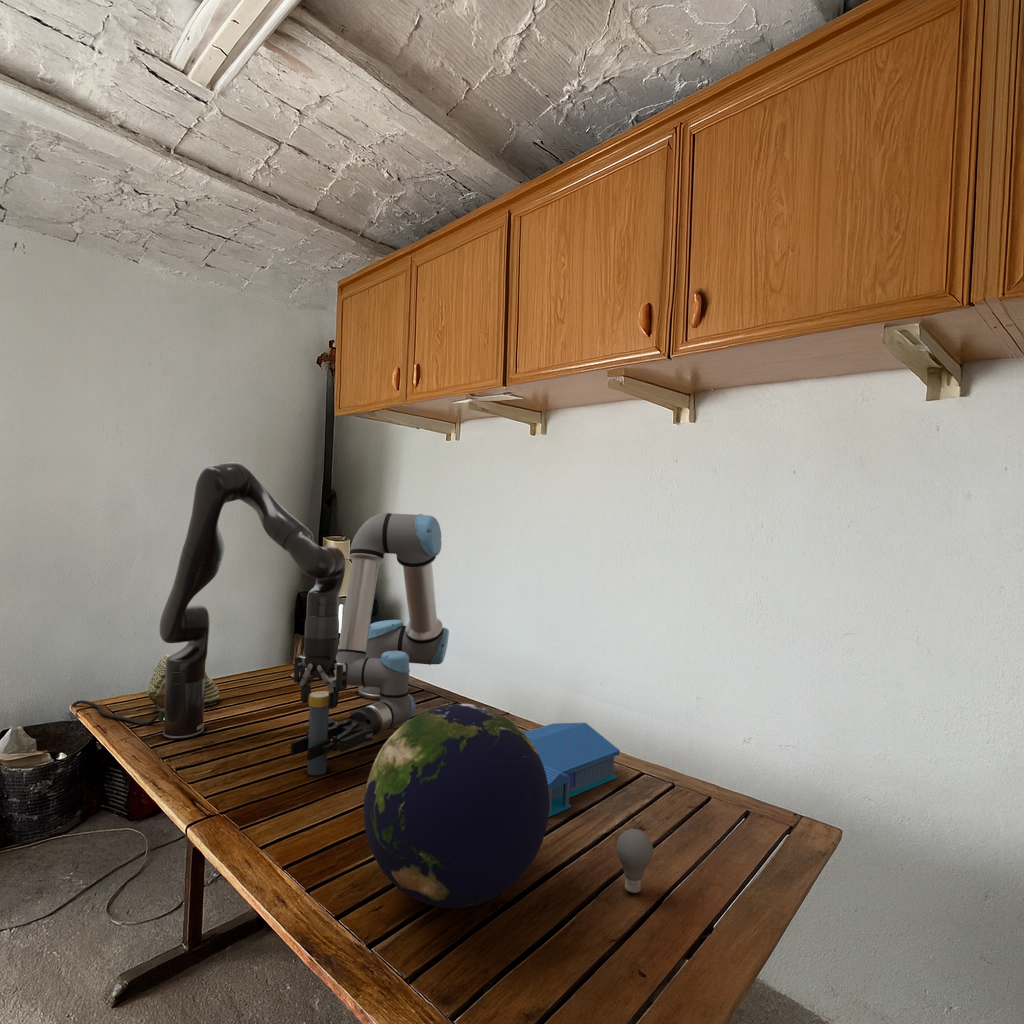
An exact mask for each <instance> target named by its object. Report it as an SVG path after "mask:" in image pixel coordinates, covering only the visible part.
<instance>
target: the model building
mask: <svg viewBox="0 0 1024 1024" xmlns="http://www.w3.org/2000/svg"><path fill="white" fill-rule="evenodd" d="M523 733H524V734H525V735H526V736H527V737H528V738H529V739H530V741H531V742H532V744H533V745H534V747H535V749H536V750H537V752H538V754H539V756H540V759H541V761H542V764H543V766H544V770H545V773H546V777H547V782H548V788H549V817H552V816H555V815H557V814H559V813H562V812H563V811H566V810H569V809H571V808H572V805H571V804H570V798H572V797H575V796H577V795H580V794H582V793H585V792H587V791H589V790H591V789H594V788H597V787H599V786H601V785H603V784H605V783H609V782H610V781H613V780H615V779H617V778H618V776H617V775H616V774H614V771H615V770H614V768H615V767H614V765H615V757H617V756H620V754H621V750H620V749H619V748H618V747H617V746H616V745H614V744H613V743H612V742H611V741H610V740H607V738H605V737H604V736H603V735H601V734H600V733H599V732H598V731H597V730H596V729H594V728H593V727H592V726H591V725H589V724H588V723H587V722H560V723H559V722H558V723H555V722H554V723H550V724H546V725H544V726H543V725H542V726H540V727H537V728H533V729H530V730H526V731H523ZM549 817H548V818H549Z"/></svg>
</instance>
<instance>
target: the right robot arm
mask: <svg viewBox="0 0 1024 1024" xmlns="http://www.w3.org/2000/svg"><path fill="white" fill-rule="evenodd" d="M441 551H442V530H441V525H440V523H439V521H438V519H437V518H436V517H434V516H433V515H429V514H428V515H427V514H423V513H418V514H413V513H411V514H409V513H391V512H382V513H378V514H375V515H373V516H371V517H370V518H369V519H367V520H366V521H364V523H363V524H362V525H361V526H360V527H359V529H358V530H357V532H356V534H355V535H354V537H353V539H352V542H351V545H350V549H349V555H348V557H349V559H350V560H351V565H350V572H349V579H348V586H347V590H346V591H347V592H346V598H345V604H344V611H343V616H342V622H341V628H340V629H341V630H340V634H339V642H338V653H337V655H336V660H337V663H341V664H343V663H347V664H348V675H347V686H355V687H357V686H358V689H357V694H358V695H359V696H360V697H361V698H365V699H369V700H376V702H374V703H371V704H369V705H367V706H364V707H361V708H359V709H357V710H355V711H353V712H352V713H351V714H350V716H349V718H348V719H344V720H341V721H339V722H338V721H336V719H335V718H330V719H329V721H328V739H326V740H324V741H322V742H320V743H317V744H315V745H313V746H310V747H308V735H309V729H307V730H306V736H303V737H301V738H299V739H297V740H295V741H292V742H290V756H296V755H298V754H300V753H302V752H304V751H306V750H307V751H306V761H308V760H309V761H310V760H312V759H314V758H316V757H319V756H321V755H323V754H325V753H327V754H328V753H330V752H337V751H338V750H339V752H341V753H343V752H346V751H348V750H350V749H353V748H355V747H357V746H359V745H362V744H364V743H366V742H370V741H371V742H372V741H373V737H375V736H379V734H381V733H383V732H385V731H388V730H389V729H392V728H394V727H396V726H399V725H403V724H404V723H406V722H407V721H409V720H410V719H412V718H413V717H414V714H415V712H416V708H417V707H416V705H417V704H416V702H415V699H414V697H413V696H412V695H411V694H410V693H409V683H410V682H409V681H410V671H411V669H410V664H418V665H429V666H431V665H441V664H442V663H444V660H445V657H446V654H447V649H448V643H449V637H450V636H449V634H450V630H449V629H448V628H446V627H443V623H442V620H440V619H439V618H438V616H437V605H436V604H437V603H436V593H435V583H434V571H433V563H434V561H436V559H437V556H439V555H440V553H441ZM385 554H391V555H392V554H393V555H395V556H396V561H397V563H398V564H399V565H401V566H402V568H403V569H402V570H403V575H404V576H403V577H404V586H405V594H406V596H405V597H406V602H407V612H408V619H409V621H408V622H407V623H406V625H405V624H404V620H401V619H386V620H380V621H375V622H373V623H371V621H372V614H373V607H374V600H375V595H376V594H375V593H376V587H377V581H378V580H377V579H378V572H379V567H380V564H381V563H383V562H384V556H385ZM335 670H336V669H335ZM329 678H332V677H331V676H330V677H329ZM332 684H333V683H332ZM341 684H342V682H341Z"/></svg>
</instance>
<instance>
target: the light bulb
mask: <svg viewBox="0 0 1024 1024" xmlns="http://www.w3.org/2000/svg"><path fill="white" fill-rule="evenodd" d="M615 849H616V854H617V857H618V859H619V861H620V863H621V865H622V867H623V873H624V874H623V875H624V876H625V878H624V888H625V890H627V891H628V892H630V893H634V894H635V893H639V892H640V891H641V889H642V887H641V886H642V879H643V877H644V875H645V871H646V868H647V867H648V866H649V864H650V863H651V861H652V859H653V855H654V847H653V843H652V841H651V838H649V836H648V835H647V834H646V833H645V832H643V831H642V830H641V829H636V828H629V829H627V830H625V831H623V832H622V833H621V834H620V835H619V837H618V839H617V841H616V847H615Z"/></svg>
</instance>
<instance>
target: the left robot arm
mask: <svg viewBox="0 0 1024 1024" xmlns="http://www.w3.org/2000/svg"><path fill="white" fill-rule="evenodd" d="M194 488H195V489H194V496H193V503H192V510H191V515H190V518H189V519H190V520H189V523H188V529H187V532H186V536H185V539H184V542H183V545H182V550H181V553H180V557H179V560H178V565H177V570H176V574H175V577H174V581H173V584H172V586H171V587H172V588H171V590H170V593H169V595H168V597H167V600H166V603H165V605H164V608H163V610H162V613H161V616H160V621H159V629H158V630H159V636H160V638H161V640H162V641H163V642H164V643H166V644H180V643H186V645H185V646H184V647H183V648H181V649H180V650H179V651H177V652H174V653H172V654H170V655H171V656H169V657H168V658H167V660H166V674H165V705H164V708H163V709H159V710H158V713H156V714H155V715H154V716H153V717H152V718H151V720H148V721H141V720H140V721H139V720H135V719H133V718H131V717H125V716H122V715H121V716H120V715H116V714H111V713H108V712H106V711H105V710H104V709H103V708H102V706H101V705H100V704H97V703H94V702H91V701H88V700H83V699H81V700H77V701H76V700H75V702H73V703H72V704H71V707H76V706H78V705H80V704H81V705H87V706H90V707H93V708H96V709H97V710H98V713H99V714H100V715H101V716H104V717H107V718H111V719H114V720H120V721H123V722H129V723H130V724H133V725H134V724H135V725H139V726H140V725H141V726H149V725H151V724H153V723H154V722H156V720H157V719H158V720H159V721H160V723H163V731H162V737H164V738H166V739H169V740H185V739H190V738H191V739H192V738H194V737H197V736H199V735H202V734H203V732H204V730H205V729H204V727H205V721H204V718H205V706H204V693H205V672H206V664H207V663H206V661H207V658H208V657H207V656H208V650H209V649H208V648H209V638H210V637H209V636H210V628H211V627H210V623H211V621H210V613H209V610H208V609H207V607H206V606H205V605H203V604H192V605H191V604H190V602H191V601H192V600H193V599H194V597H195V596H197V595H198V594H199V592H201V591H202V590H203V589H204V588H205V587H206V586H207V585H208V584H210V582H212V581H213V579H215V577H216V576H217V575H218V573H219V570H220V568H221V564H222V561H223V557H224V553H225V542H224V539H223V536H222V534H221V531H220V530H219V521H220V516H221V513H222V509H223V508H224V506H225V504H227V503H230V502H234V501H241V502H243V503H244V504H246V505H248V506H249V507H250V508H252V509H253V510H254V512H256V514H257V516H258V519H259V520H260V523H261V526H262V529H263V531H264V532H265V533H266V535H267V536H268V538H270V539H271V540H272V541H273V542H275V543H276V545H278V546H279V547H280V548H282V549H283V550H284V551H286V552H287V553H289V555H290V557H291V558H292V560H293V561H294V563H295V564H296V565H297V566H298V568H299V569H300V570H301V571H302V572H303V573H304V574H305V575H307V576H308V577H310V578H313V579H316V580H315V584H314V586H313V587H312V588H311V589H310V590H309V591H308V593H307V597H306V617H305V622H304V639H303V640H304V642H303V644H304V645H303V654H302V655H299V656H295V657H294V660H293V673H294V677H293V682H294V683H295V684H297V683H298V684H299V686H300V700H301V703H303V704H306V703H308V702H309V694H310V693H312V682H313V680H315V679H314V678H319V679H318V680H322V681H323V683H324V685H326V687H327V689H328V692H329V696H328V708H329V710H330V709H331V710H333V709H336V708H337V707H338V705H339V700H340V699H339V698H340V697H339V696H340V695H339V694H340V692H341V691H343V690H346V689H347V688H348V685H347V675H348V664H347V663H343V664H341V663H337V660H336V655H337V654H338V648H339V641H340V618H339V617H340V616H339V613H340V612H339V609H340V594H341V590H342V586H343V582H344V578H345V573H346V557H345V554H344V552H343V551H342V550H341V549H340V548H339V547H337V546H333V545H332V546H331V545H327V546H321V545H319V544H318V543H316V542H315V541H314V534H313V532H312V531H311V530H310V529H309V528H308V527H307V526H305V524H303V523H302V522H301V521H299V520H298V519H297V518H296V517H294V516H293V515H292V514H291V513H289V512H288V511H287V509H285V508H284V507H283V506H282V505H281V504H280V503H279V502H278V501H277V500H276V499H275V498H274V496H272V494H271V493H270V492H269V491H268V490H267V489H266V487H264V485H263V484H262V483H261V481H259V479H258V478H257V477H256V476H255V475H254V473H252V472H251V471H250V469H248V468H247V467H246V466H245V465H243V464H242V463H240V462H238V461H237V462H236V461H228V462H223V463H222V462H221V463H217V464H211V465H207V466H205V467H204V468H202V469H201V471H200V472H199V474H198V476H197V479H196V483H195V487H194ZM189 604H190V605H189ZM305 668H307V669H306V671H305ZM335 669H336V670H335ZM299 673H300V676H299ZM330 676H331V677H332V678H329V677H330ZM341 682H342V684H341ZM332 683H333V684H332Z"/></svg>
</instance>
